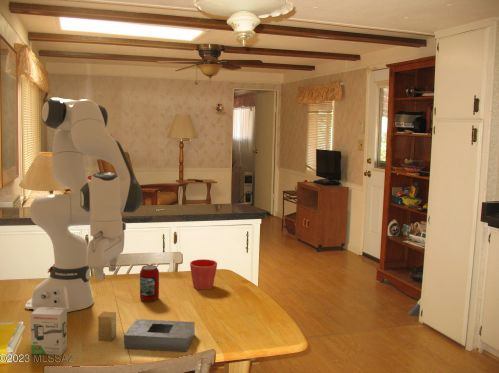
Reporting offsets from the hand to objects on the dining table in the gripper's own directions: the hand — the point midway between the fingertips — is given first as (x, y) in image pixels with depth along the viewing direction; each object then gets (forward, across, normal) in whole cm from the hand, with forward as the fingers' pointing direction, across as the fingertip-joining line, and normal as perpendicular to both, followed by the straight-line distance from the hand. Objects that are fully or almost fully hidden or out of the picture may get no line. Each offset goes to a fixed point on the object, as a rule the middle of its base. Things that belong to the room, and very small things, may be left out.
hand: (106, 275), depth 148 cm
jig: (+19, 0, -16) cm, 25 cm away
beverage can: (+19, +35, -3) cm, 40 cm away
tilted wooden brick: (+19, 0, 0) cm, 19 cm away
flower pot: (+19, +52, -20) cm, 59 cm away
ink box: (+20, -10, +13) cm, 26 cm away
